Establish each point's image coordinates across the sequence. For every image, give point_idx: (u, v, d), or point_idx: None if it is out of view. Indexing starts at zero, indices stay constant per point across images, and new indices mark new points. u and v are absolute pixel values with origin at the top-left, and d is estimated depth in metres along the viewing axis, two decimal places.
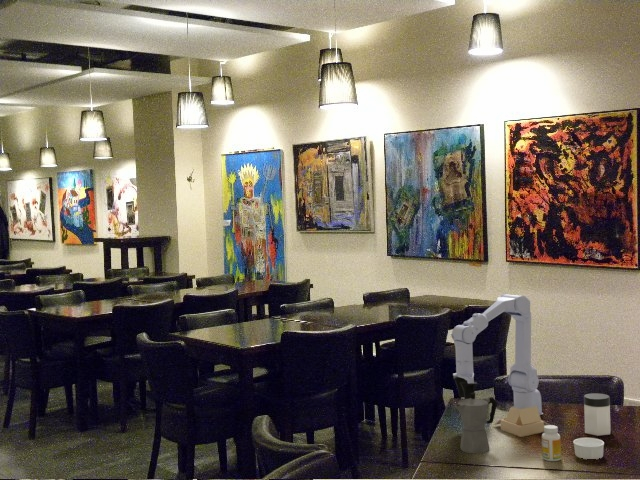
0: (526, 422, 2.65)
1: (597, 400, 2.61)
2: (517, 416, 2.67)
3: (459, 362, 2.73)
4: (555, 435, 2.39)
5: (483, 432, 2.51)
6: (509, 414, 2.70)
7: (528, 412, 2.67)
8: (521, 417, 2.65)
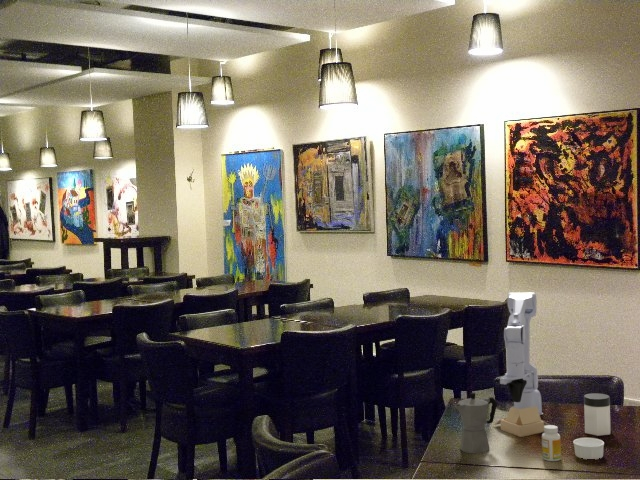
0: (526, 422, 2.65)
1: (597, 400, 2.61)
2: (517, 416, 2.67)
3: None
4: (555, 435, 2.39)
5: (483, 432, 2.51)
6: (509, 414, 2.70)
7: (528, 412, 2.67)
8: (521, 417, 2.65)
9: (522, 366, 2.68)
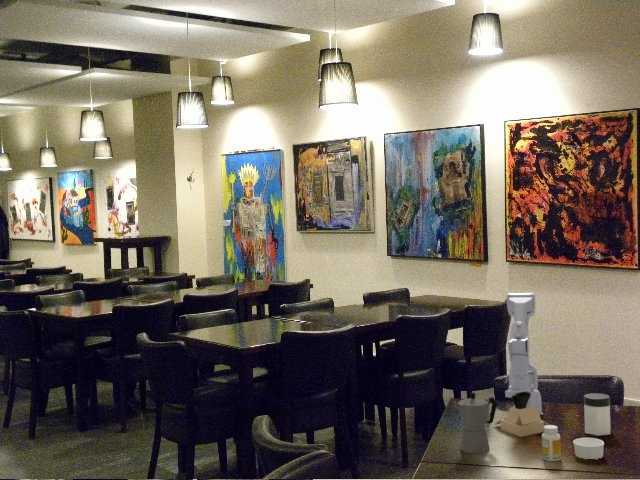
0: (526, 422, 2.65)
1: (597, 400, 2.61)
2: (517, 416, 2.67)
3: (510, 374, 2.70)
4: (555, 435, 2.39)
5: (483, 432, 2.51)
6: (509, 414, 2.70)
7: (528, 412, 2.67)
8: (521, 417, 2.65)
9: (527, 379, 2.67)
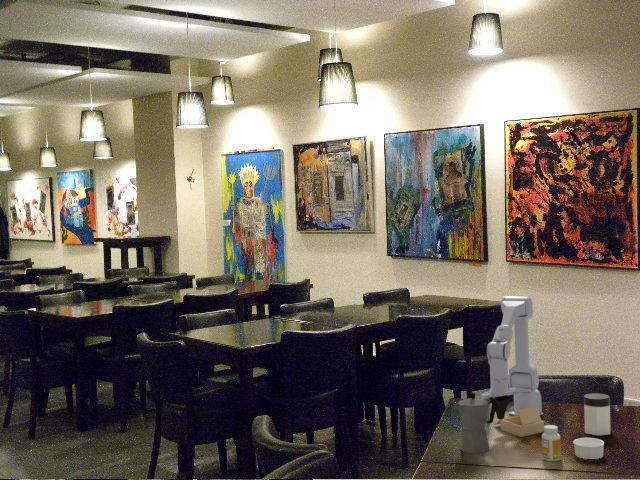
0: (526, 422, 2.65)
1: (597, 400, 2.61)
2: (508, 422, 2.65)
3: (490, 377, 2.67)
4: (555, 435, 2.39)
5: (483, 432, 2.51)
6: None
7: (528, 412, 2.67)
8: (521, 417, 2.65)
9: (505, 383, 2.63)
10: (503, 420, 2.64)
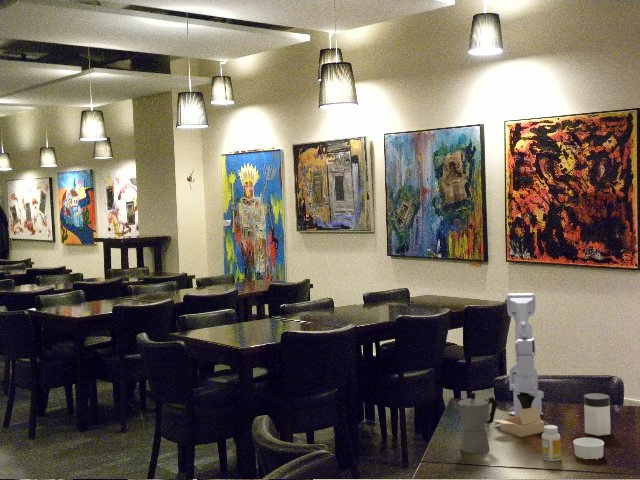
0: (526, 422, 2.65)
1: (597, 400, 2.61)
2: (507, 423, 2.65)
3: (523, 376, 2.65)
4: (555, 435, 2.39)
5: (483, 432, 2.51)
6: (500, 421, 2.69)
7: (528, 412, 2.67)
8: (521, 417, 2.65)
9: None
10: (502, 423, 2.64)
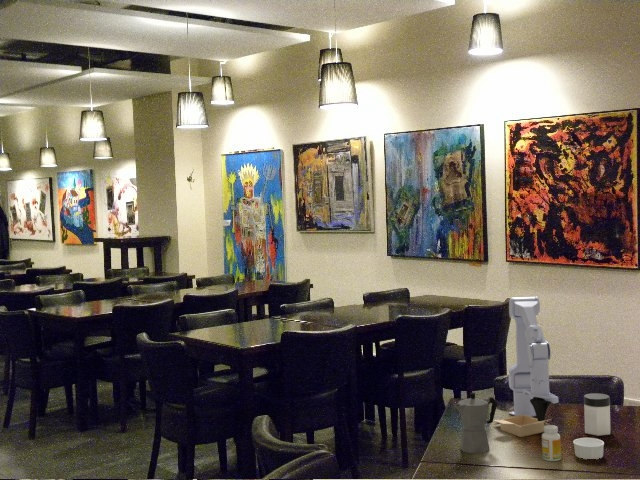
0: None
1: (597, 400, 2.61)
2: None
3: (537, 381, 2.59)
4: (555, 435, 2.39)
5: (483, 431, 2.51)
6: (500, 421, 2.69)
7: None
8: (528, 424, 2.62)
9: None
10: (502, 423, 2.64)
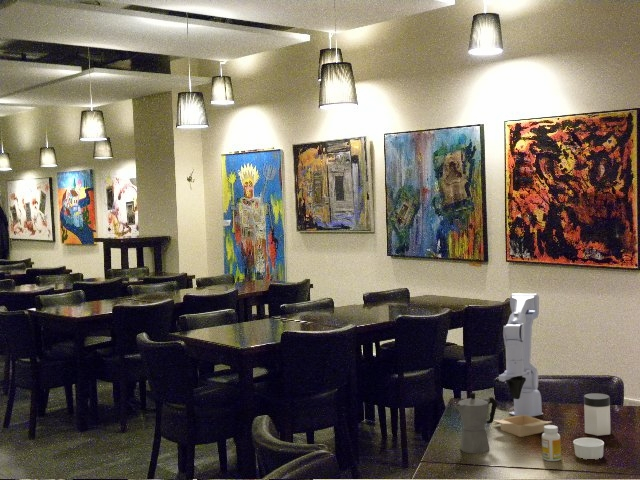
0: (528, 424, 2.64)
1: (597, 400, 2.61)
2: None
3: (506, 359, 2.75)
4: (555, 435, 2.39)
5: (483, 431, 2.51)
6: (500, 421, 2.69)
7: (538, 424, 2.63)
8: (528, 425, 2.62)
9: (521, 363, 2.72)
10: (502, 423, 2.64)
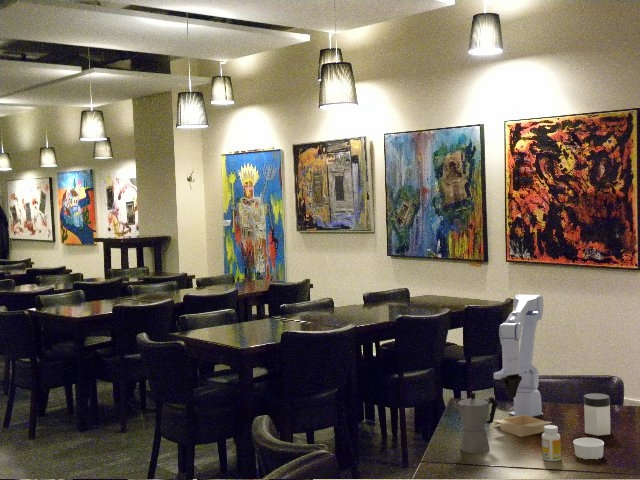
0: (528, 425, 2.64)
1: (597, 400, 2.61)
2: None
3: (502, 357, 2.78)
4: (555, 435, 2.39)
5: (483, 432, 2.51)
6: (500, 421, 2.69)
7: None
8: None
9: (516, 362, 2.74)
10: (502, 423, 2.64)
